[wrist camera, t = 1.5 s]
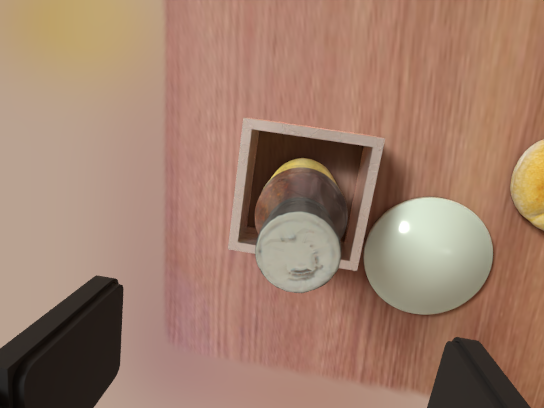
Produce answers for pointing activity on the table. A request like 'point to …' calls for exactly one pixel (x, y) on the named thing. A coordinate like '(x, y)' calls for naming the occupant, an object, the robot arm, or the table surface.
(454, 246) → the saucer
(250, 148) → the square storage bin
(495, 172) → the table surface
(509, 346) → the table surface
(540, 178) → the bread roll
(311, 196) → the sauce bottle
